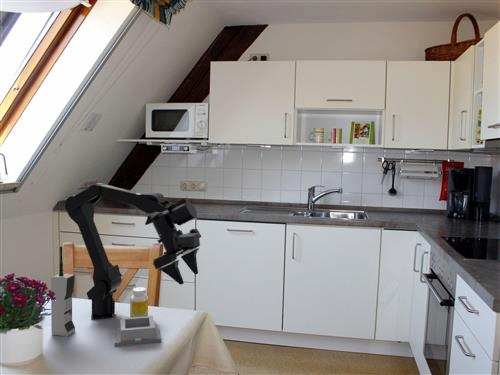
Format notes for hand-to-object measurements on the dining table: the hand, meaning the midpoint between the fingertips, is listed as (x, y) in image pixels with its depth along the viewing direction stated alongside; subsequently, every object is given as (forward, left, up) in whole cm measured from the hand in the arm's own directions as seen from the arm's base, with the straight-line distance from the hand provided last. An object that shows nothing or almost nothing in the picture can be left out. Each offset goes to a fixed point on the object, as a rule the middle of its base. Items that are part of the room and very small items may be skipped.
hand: (189, 278), depth 130 cm
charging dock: (-15, -5, -14) cm, 22 cm away
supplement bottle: (-14, +8, -14) cm, 22 cm away
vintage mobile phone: (-35, +2, -14) cm, 38 cm away
